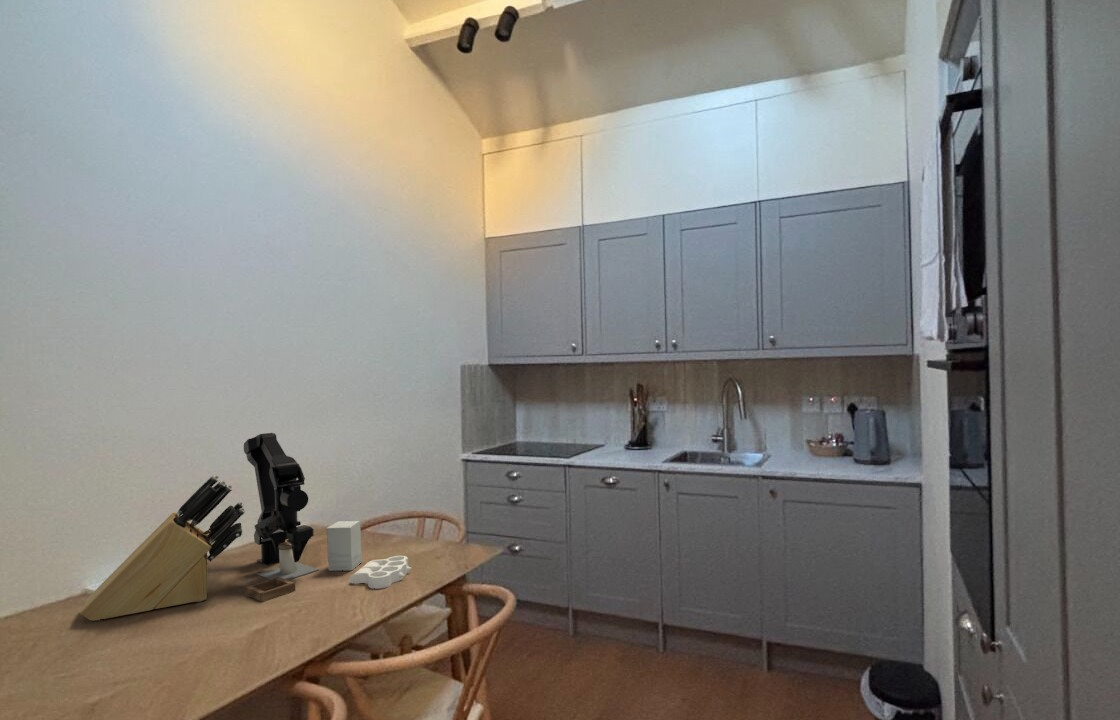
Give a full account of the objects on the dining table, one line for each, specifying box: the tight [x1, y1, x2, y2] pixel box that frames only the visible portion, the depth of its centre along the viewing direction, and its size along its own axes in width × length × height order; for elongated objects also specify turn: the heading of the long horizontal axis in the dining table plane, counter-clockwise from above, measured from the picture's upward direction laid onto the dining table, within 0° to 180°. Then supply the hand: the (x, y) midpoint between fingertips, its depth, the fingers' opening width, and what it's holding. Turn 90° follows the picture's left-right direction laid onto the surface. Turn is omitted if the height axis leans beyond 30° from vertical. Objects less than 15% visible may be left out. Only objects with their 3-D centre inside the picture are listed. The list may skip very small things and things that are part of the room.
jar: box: [279, 541, 297, 574], centre depth 176 cm, size 5×5×8 cm
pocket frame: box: [244, 577, 296, 602], centre depth 161 cm, size 9×9×2 cm
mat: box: [256, 561, 320, 581], centre depth 176 cm, size 12×12×1 cm
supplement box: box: [326, 520, 363, 572], centre depth 180 cm, size 7×7×13 cm
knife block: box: [79, 474, 246, 621], centre depth 157 cm, size 11×35×31 cm, turn 119°
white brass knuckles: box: [348, 555, 413, 589], centre depth 170 cm, size 3×18×15 cm
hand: (287, 559), depth 176 cm, fingers open, 9 cm apart
